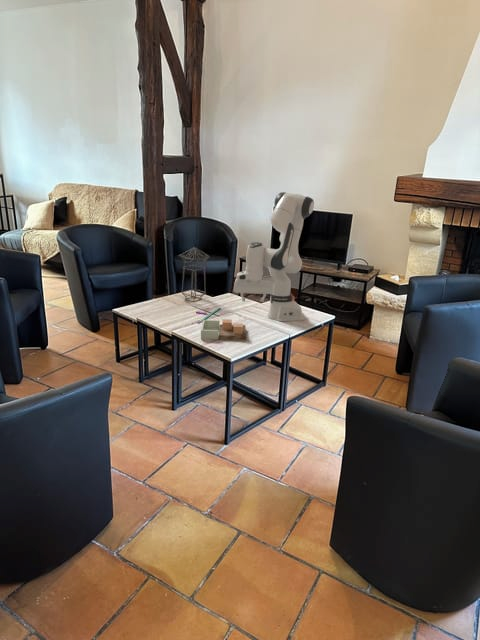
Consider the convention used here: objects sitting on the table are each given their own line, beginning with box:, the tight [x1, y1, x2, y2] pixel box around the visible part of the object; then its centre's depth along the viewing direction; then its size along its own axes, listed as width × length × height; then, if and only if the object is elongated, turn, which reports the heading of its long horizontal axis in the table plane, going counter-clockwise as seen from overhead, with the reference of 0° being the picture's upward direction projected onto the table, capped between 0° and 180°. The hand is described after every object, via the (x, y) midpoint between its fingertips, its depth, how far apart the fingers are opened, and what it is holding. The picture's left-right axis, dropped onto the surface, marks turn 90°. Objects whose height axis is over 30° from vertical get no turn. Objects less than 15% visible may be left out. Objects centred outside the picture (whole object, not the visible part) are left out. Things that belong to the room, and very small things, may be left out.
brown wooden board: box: [218, 324, 247, 341], centre depth 236 cm, size 14×16×2 cm
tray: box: [200, 319, 221, 341], centre depth 236 cm, size 9×16×5 cm, turn 0°
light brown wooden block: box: [221, 318, 233, 330], centre depth 238 cm, size 5×5×4 cm
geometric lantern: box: [178, 246, 211, 303], centre depth 288 cm, size 16×16×35 cm
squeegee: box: [195, 307, 221, 324], centre depth 265 cm, size 29×2×10 cm
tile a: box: [233, 322, 244, 334], centre depth 232 cm, size 5×5×4 cm
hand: (252, 301), depth 227 cm, fingers open, 8 cm apart
